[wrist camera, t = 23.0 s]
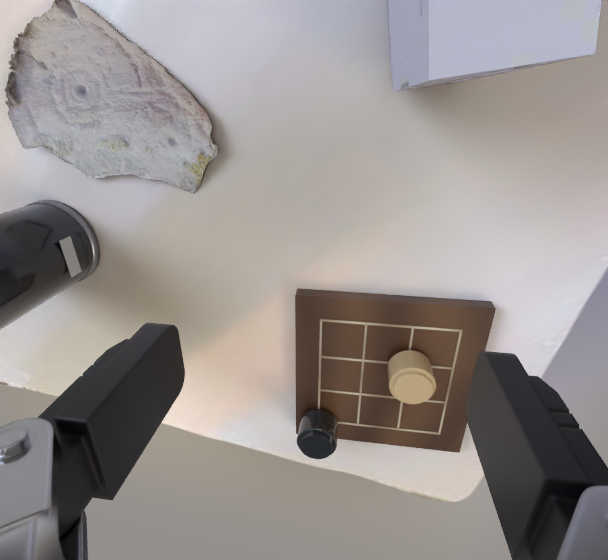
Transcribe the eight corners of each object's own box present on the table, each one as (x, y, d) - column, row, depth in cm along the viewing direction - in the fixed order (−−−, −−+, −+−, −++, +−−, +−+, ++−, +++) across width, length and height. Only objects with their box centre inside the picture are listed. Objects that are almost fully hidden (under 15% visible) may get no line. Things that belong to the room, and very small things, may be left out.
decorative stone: (5, 129, 38) (-7, 130, 37) (28, -29, 32) (15, -34, 31) (188, 228, 40) (183, 232, 38) (242, 96, 34) (238, 96, 33)
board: (297, 425, 50) (295, 434, 48) (297, 288, 41) (295, 295, 40) (456, 442, 47) (459, 453, 46) (491, 301, 39) (496, 309, 37)
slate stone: (301, 432, 48) (296, 459, 44) (301, 404, 46) (295, 430, 42) (337, 436, 47) (335, 463, 44) (339, 408, 45) (336, 434, 42)
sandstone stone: (385, 379, 43) (387, 405, 39) (389, 345, 41) (391, 369, 37) (427, 383, 42) (433, 409, 38) (433, 349, 40) (440, 373, 37)
